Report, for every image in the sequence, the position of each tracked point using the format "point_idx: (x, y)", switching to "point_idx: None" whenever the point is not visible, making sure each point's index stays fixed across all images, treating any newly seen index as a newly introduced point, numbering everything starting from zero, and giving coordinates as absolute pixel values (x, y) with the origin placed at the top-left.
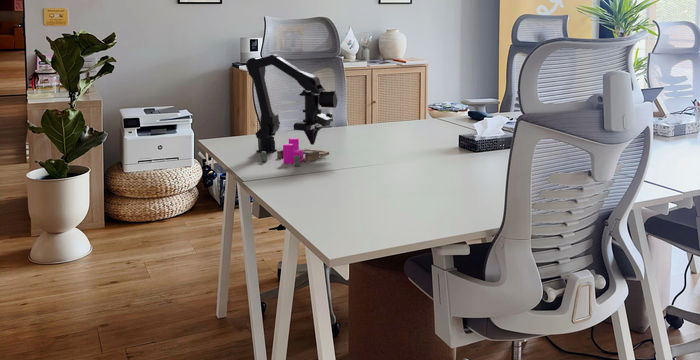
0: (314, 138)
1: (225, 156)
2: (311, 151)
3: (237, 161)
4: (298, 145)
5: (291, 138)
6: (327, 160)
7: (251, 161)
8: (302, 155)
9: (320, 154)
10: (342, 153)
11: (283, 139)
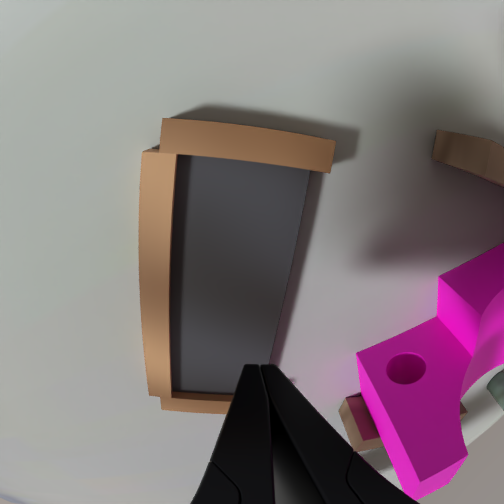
0: (271, 435)
1: None
2: (201, 338)
3: (467, 435)
4: (409, 416)
5: (424, 492)
6: (467, 37)
7: (477, 413)
8: (488, 275)
9: (327, 168)
10: (78, 7)
11: (37, 487)
